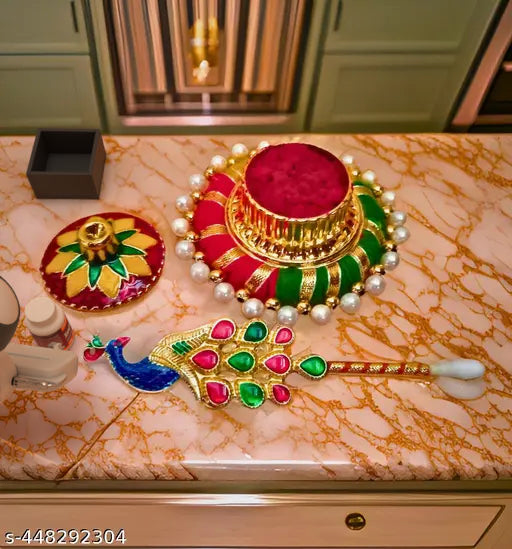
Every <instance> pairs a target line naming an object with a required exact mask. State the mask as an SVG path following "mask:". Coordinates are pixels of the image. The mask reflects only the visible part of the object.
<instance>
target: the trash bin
mask: <svg viewBox="0 0 512 549" xmlns="http://www.w3.org/2000/svg"><path fill="white" fill-rule="evenodd" d="M105 147H106V146H105V143H104V140H103V135H102V132H101V129H100V128H65V127H63V128H61V127H58V128H57V127H56V128H55V127H38V128H37V130H36V133H35V138H34V141H33V145H32V150H31V154H30V156H29V160H28V164H27V169H26V172H25V176H26V178H27V181H28V182H29V185H30V187H31V190H32V192H33V194H34V197H35V198H36V199H38V200H39V199H40V200H41V199H42V200H100V195H101V189H102V184H103V178H104V177H103V176H104V172H105V171H104V170H105V164H106V159H107V152H106V148H105Z"/></svg>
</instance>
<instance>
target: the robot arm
mask: <svg viewBox="0 0 512 549" xmlns="http://www.w3.org/2000/svg"><path fill="white" fill-rule="evenodd" d="M20 318H21V305H20V301H19V297H18V296H17V294H16V291H15V290H14V288H13V287H12V286H11V285H10V283H9V282H8V280H6V279H5V278H4V277H3V276H1V275H0V405H2V403H4V402H5V401H6V400H8V399H9V398H10V397H11V396H12V395H13V393H14V392H15V390H16V389H19V390H27V391H35V392H40V393H50V392H51V393H52V392H55V391H57V390H60V389H62V388H63V387H64V386H66V385H67V384H69V383H70V382H71V381H73V380H74V379H75V378H76V377H77V375H78V371H79V355H78V354H77V352H75V351H74V350H62V344H61V343H57V342H51V343H50V344H48V348H45V347H39V346H38V345H29V344H22V343H16V342H11V341H12V339H13V337H14V335H15V333H16V331H17V329H18V326H19V323H20Z"/></svg>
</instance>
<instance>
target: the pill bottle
mask: <svg viewBox="0 0 512 549" xmlns="http://www.w3.org/2000/svg"><path fill="white" fill-rule="evenodd" d="M24 316H25V320H24V322H25V326H26V329H27V330H28V332H29V333H30V335H31V337H32V338H33V340H34V341H35V343H36V344H37V346H38V347H45V348H48V344H50V343H51V342H57V343H61V344H62V350H67V351H69V349H70V348H71V347H72V346H73V344H74V342H75V332H74V330H73V328H72V325H71V323H70V321H69V320H68V317H67V315H66V313H65V311H64V309H63V308H62V307H61V305H60V304H58V303H56V302H54V301H53V300H52V299H51V298H50V297H47V296H37V297H33V298H32V299H31V300H30V301H28V302H27V303H26V305H25V307H24Z"/></svg>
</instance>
